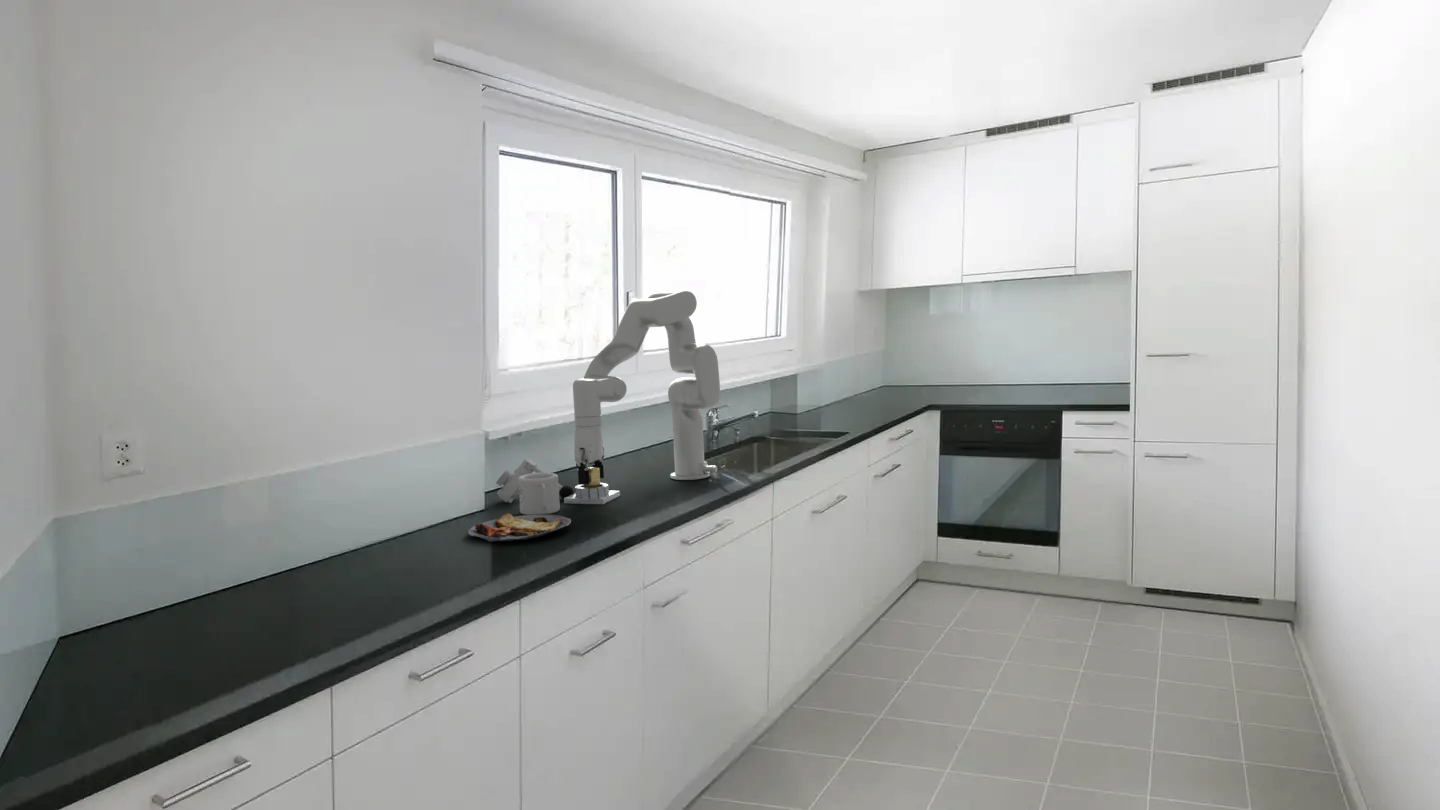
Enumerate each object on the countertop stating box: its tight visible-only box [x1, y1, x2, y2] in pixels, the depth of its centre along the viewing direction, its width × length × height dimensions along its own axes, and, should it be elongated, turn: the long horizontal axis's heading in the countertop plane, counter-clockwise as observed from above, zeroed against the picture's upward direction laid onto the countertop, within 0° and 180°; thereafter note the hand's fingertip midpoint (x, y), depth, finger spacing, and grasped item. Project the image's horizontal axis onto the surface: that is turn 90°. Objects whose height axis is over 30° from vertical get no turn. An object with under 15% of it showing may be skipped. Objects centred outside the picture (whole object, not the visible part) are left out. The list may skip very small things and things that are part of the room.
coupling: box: [584, 466, 601, 488], centre depth 278 cm, size 5×5×8 cm
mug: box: [518, 472, 561, 516], centre depth 263 cm, size 14×11×10 cm
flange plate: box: [563, 482, 621, 505], centre depth 278 cm, size 12×12×4 cm
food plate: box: [465, 512, 572, 543], centre depth 240 cm, size 25×23×4 cm
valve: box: [495, 457, 575, 504], centre depth 280 cm, size 10×20×15 cm
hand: (591, 481), depth 278 cm, fingers open, 9 cm apart
